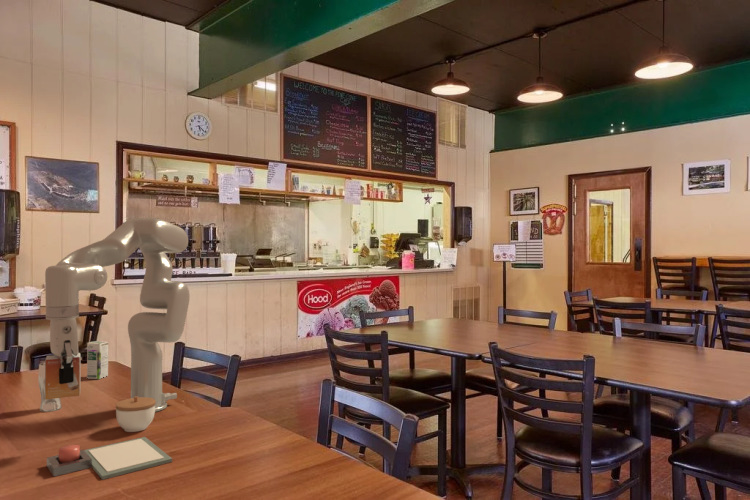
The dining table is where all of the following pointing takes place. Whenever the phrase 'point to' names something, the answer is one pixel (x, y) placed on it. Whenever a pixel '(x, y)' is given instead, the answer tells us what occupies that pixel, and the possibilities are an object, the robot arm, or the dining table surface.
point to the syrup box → (97, 359)
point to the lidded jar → (135, 413)
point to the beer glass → (45, 404)
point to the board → (126, 457)
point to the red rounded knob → (69, 453)
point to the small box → (52, 379)
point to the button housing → (68, 464)
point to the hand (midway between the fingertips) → (63, 379)
